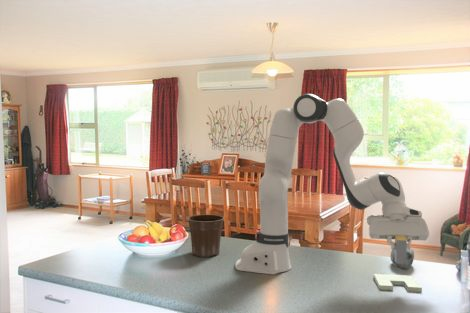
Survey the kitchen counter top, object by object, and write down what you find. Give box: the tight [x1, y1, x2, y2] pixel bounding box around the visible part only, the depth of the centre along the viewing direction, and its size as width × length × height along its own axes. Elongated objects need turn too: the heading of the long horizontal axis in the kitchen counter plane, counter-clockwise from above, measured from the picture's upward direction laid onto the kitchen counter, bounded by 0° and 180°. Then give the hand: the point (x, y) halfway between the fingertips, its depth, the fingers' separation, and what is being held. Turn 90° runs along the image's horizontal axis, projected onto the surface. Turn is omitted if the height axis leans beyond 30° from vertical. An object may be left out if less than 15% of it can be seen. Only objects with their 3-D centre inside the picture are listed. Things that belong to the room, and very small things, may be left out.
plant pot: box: [187, 214, 225, 258], centre depth 191 cm, size 16×16×16 cm
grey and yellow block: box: [394, 236, 408, 264], centre depth 151 cm, size 3×3×9 cm
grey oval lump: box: [390, 247, 415, 270], centre depth 176 cm, size 14×10×10 cm
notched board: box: [373, 273, 423, 293], centre depth 155 cm, size 14×12×2 cm
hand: (400, 249), depth 150 cm, fingers closed on grey and yellow block, 3 cm apart
